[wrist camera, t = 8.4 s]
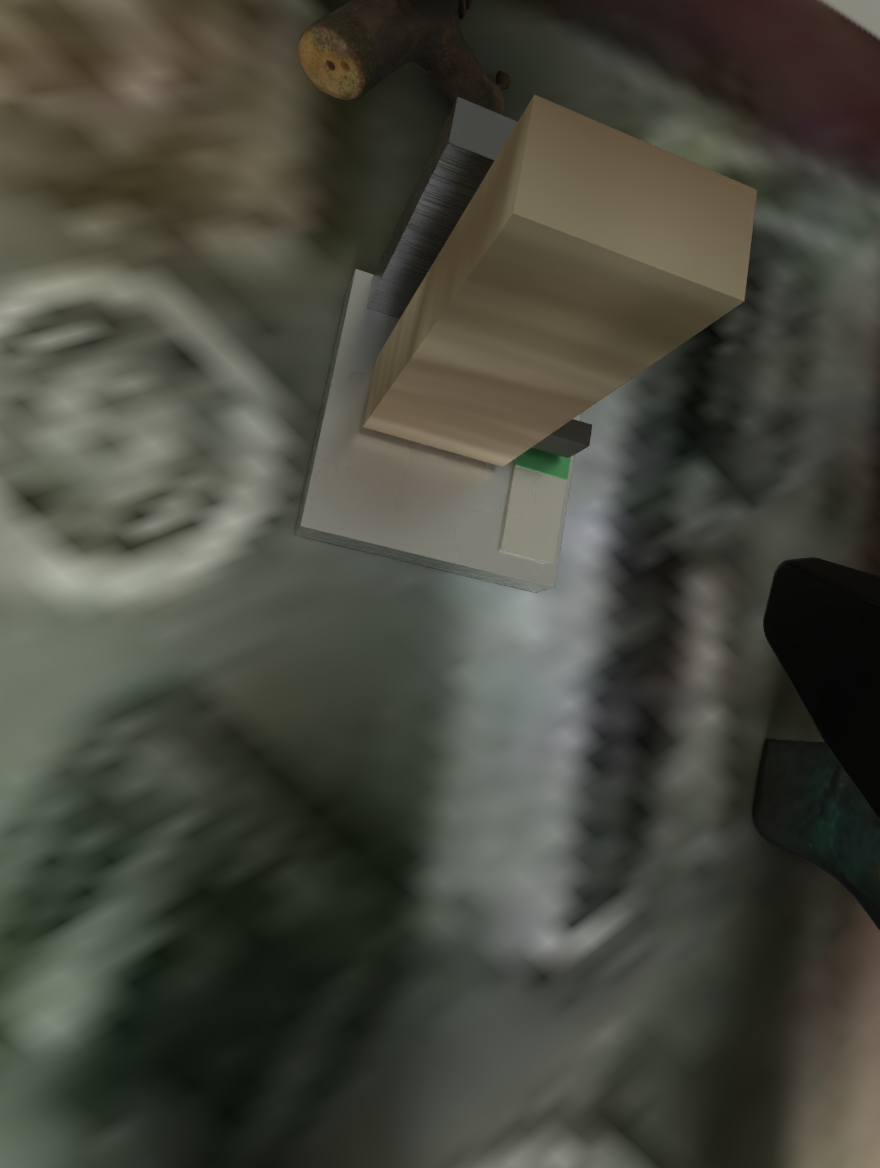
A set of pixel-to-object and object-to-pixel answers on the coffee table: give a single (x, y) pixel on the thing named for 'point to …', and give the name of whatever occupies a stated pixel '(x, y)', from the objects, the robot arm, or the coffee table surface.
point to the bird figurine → (396, 49)
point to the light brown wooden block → (559, 289)
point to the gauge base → (413, 470)
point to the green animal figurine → (820, 816)
